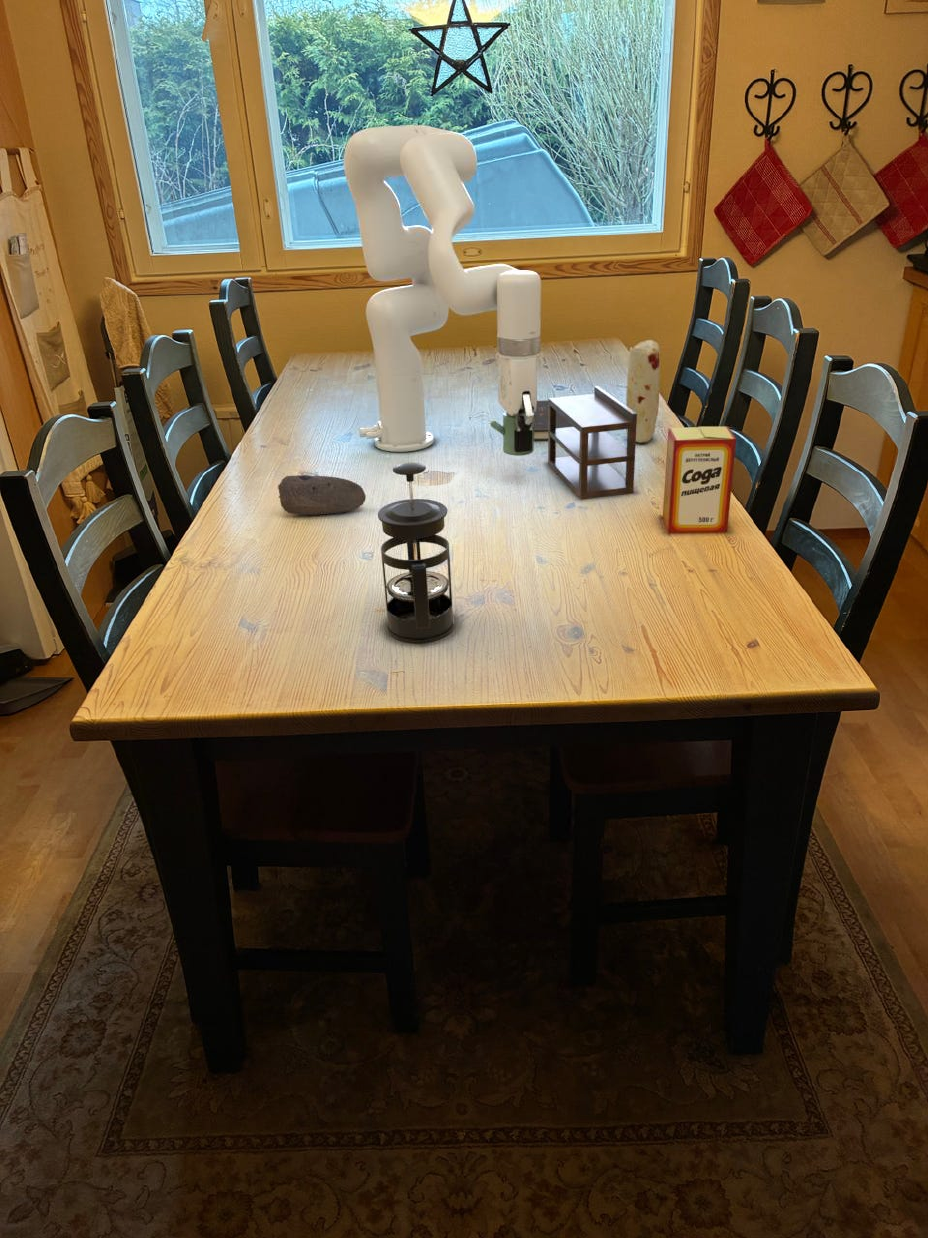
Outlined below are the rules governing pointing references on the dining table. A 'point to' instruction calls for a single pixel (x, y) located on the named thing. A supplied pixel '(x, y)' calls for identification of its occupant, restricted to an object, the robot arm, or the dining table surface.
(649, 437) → the food model
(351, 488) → the perforated stone tool
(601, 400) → the stand
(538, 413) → the hardcover book
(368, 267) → the robot arm
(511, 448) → the kettle
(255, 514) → the dining table surface
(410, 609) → the french press
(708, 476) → the baking soda box
